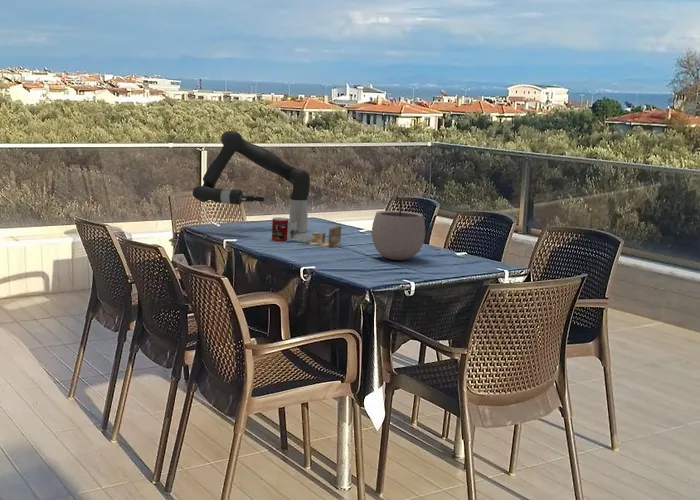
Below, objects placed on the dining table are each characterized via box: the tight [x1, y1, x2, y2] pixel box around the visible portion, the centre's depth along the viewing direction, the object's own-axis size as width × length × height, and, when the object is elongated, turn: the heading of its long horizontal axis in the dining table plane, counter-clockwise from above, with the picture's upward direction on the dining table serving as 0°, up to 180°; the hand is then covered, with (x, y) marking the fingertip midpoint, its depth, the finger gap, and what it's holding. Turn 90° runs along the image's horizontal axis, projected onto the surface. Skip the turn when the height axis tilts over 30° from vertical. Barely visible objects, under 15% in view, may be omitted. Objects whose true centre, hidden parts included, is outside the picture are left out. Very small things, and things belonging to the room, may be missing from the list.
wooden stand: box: [289, 225, 342, 248], centre depth 399 cm, size 22×15×9 cm
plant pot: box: [371, 193, 426, 261], centre depth 366 cm, size 24×24×30 cm
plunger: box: [287, 221, 312, 242], centre depth 400 cm, size 12×9×8 cm
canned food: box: [271, 216, 289, 242], centre depth 404 cm, size 8×8×11 cm
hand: (263, 199), depth 404 cm, fingers closed
